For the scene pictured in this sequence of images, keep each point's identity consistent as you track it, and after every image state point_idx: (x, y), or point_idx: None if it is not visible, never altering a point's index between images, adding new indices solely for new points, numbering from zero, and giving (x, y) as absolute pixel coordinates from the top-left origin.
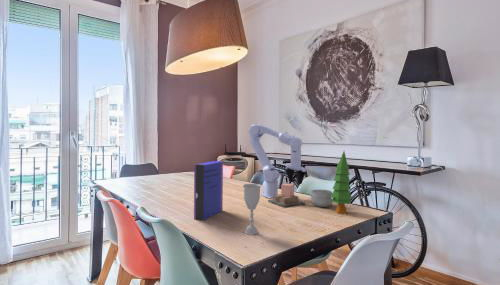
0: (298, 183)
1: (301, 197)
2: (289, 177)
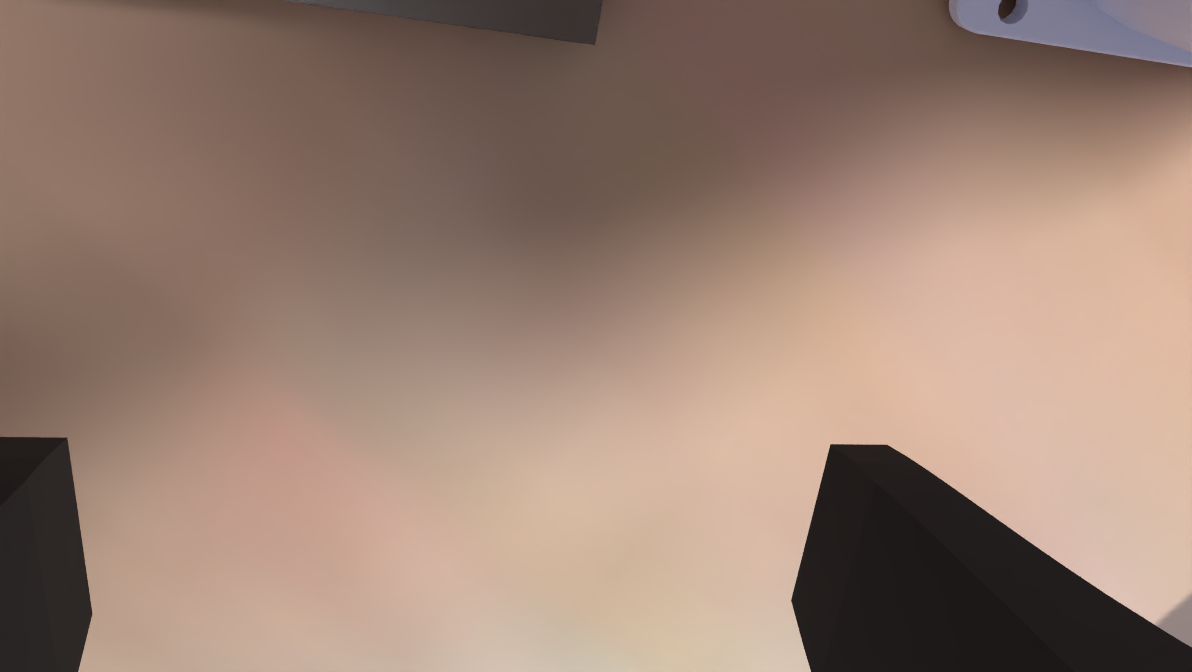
0: (27, 450)
1: (511, 493)
2: (971, 612)
